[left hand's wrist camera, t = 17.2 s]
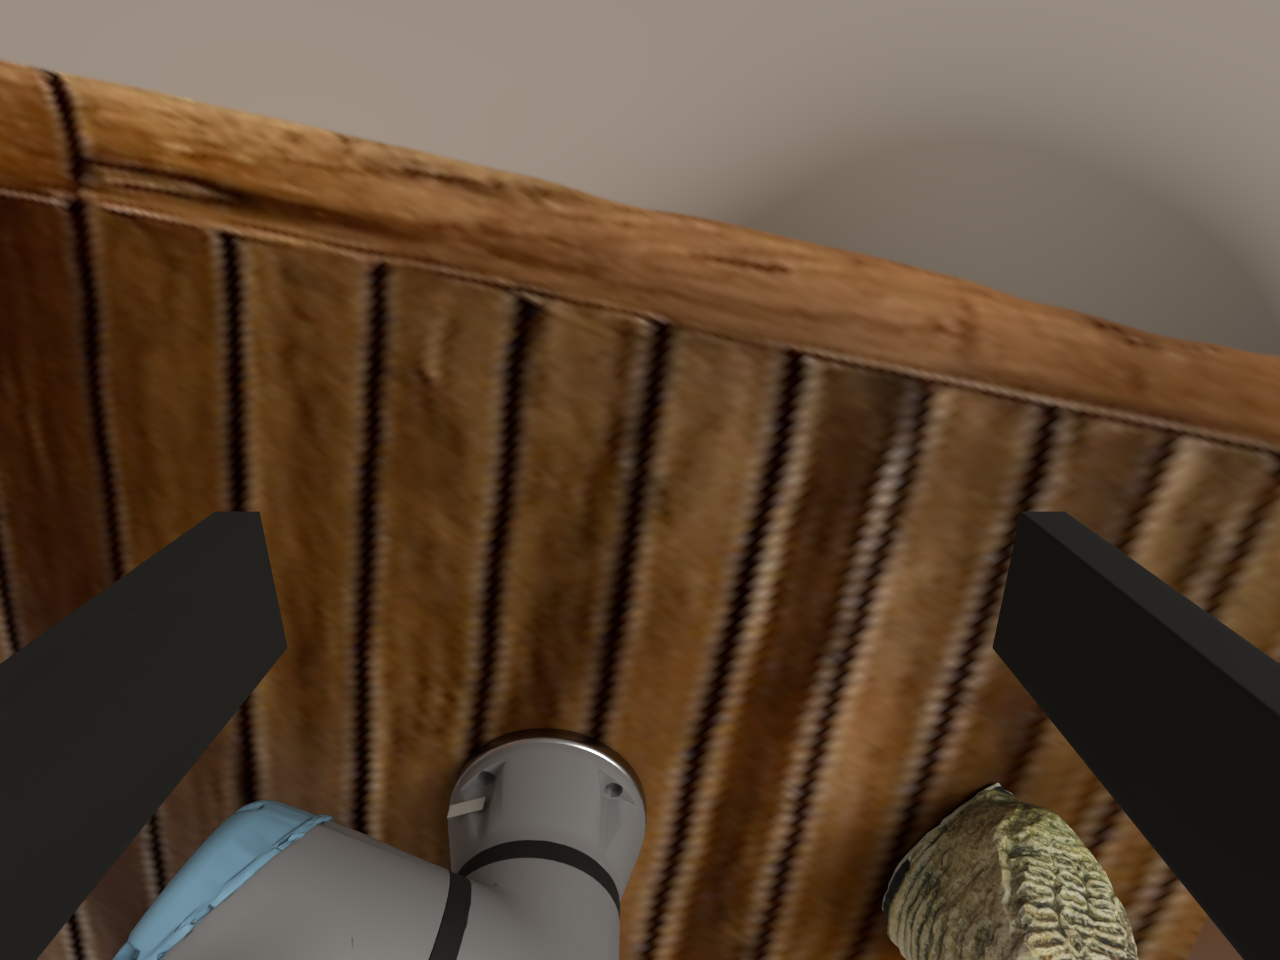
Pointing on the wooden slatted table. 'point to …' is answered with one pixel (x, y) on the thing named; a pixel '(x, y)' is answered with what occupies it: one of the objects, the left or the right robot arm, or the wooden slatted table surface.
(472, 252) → the wooden slatted table surface
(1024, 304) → the wooden slatted table surface
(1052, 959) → the fossil
